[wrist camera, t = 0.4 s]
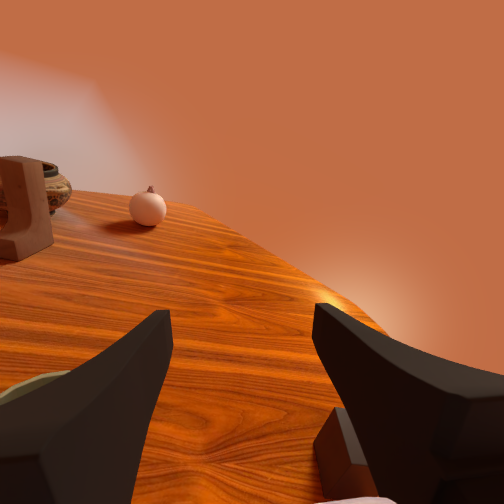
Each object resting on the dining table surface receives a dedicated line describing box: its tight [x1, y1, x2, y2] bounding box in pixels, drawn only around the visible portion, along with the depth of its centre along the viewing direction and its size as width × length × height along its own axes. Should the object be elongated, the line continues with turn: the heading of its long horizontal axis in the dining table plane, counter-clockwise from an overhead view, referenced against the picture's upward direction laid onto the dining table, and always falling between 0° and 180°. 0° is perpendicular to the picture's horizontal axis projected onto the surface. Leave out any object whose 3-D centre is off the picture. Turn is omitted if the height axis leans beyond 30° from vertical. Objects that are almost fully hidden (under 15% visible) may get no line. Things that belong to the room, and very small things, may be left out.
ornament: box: [129, 186, 166, 226], centre depth 71 cm, size 10×10×12 cm
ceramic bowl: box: [0, 161, 72, 217], centre depth 60 cm, size 24×18×15 cm
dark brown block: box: [314, 407, 379, 500], centre depth 25 cm, size 5×5×7 cm
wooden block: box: [0, 156, 54, 261], centre depth 45 cm, size 9×4×18 cm, turn 0°
